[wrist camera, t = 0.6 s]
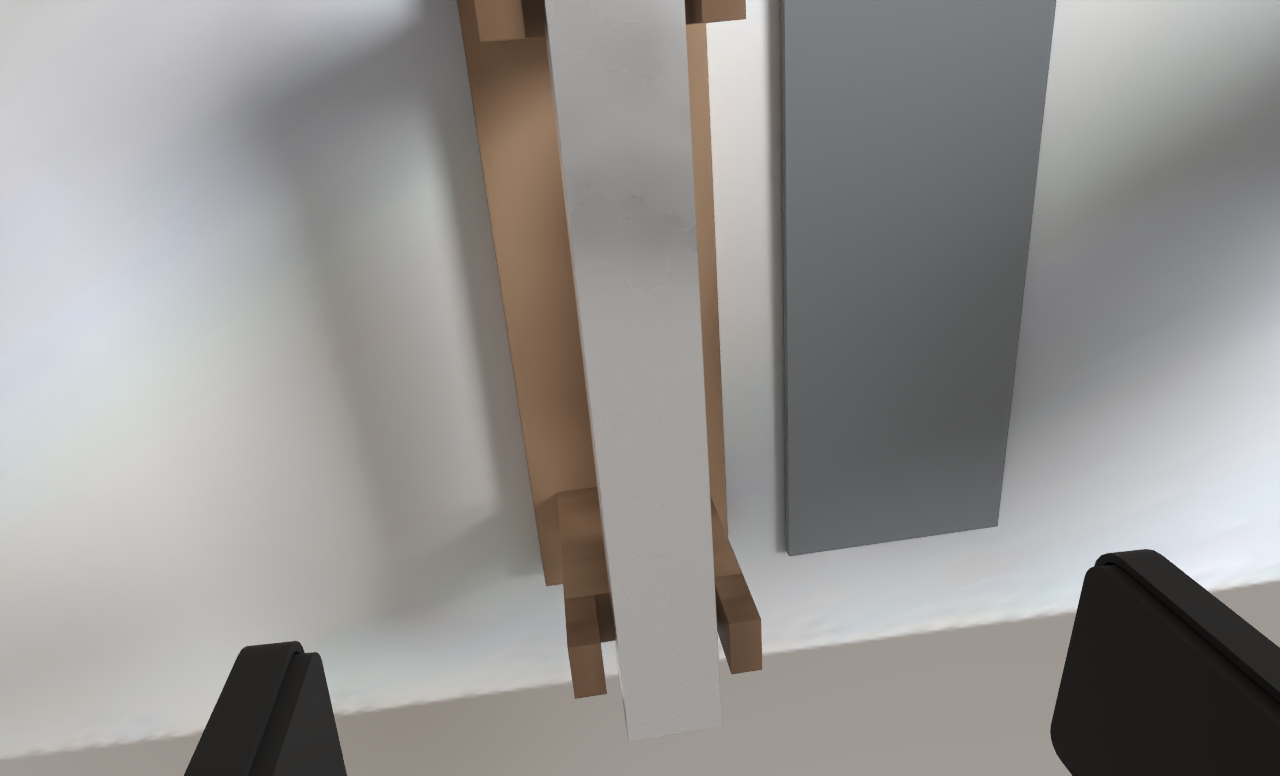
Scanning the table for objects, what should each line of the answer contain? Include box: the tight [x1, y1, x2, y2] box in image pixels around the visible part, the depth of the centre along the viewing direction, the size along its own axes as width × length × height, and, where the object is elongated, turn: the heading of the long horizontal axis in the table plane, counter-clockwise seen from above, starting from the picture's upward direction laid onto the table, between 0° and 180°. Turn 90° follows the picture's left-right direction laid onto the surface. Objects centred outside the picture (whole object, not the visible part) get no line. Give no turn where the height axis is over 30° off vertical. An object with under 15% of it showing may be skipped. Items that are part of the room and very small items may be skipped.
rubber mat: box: [781, 0, 1056, 556], centre depth 33 cm, size 10×28×1 cm, turn 5°
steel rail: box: [542, 0, 722, 741], centre depth 23 cm, size 3×24×3 cm, turn 4°
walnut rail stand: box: [457, 0, 762, 699], centre depth 27 cm, size 8×26×11 cm, turn 5°
